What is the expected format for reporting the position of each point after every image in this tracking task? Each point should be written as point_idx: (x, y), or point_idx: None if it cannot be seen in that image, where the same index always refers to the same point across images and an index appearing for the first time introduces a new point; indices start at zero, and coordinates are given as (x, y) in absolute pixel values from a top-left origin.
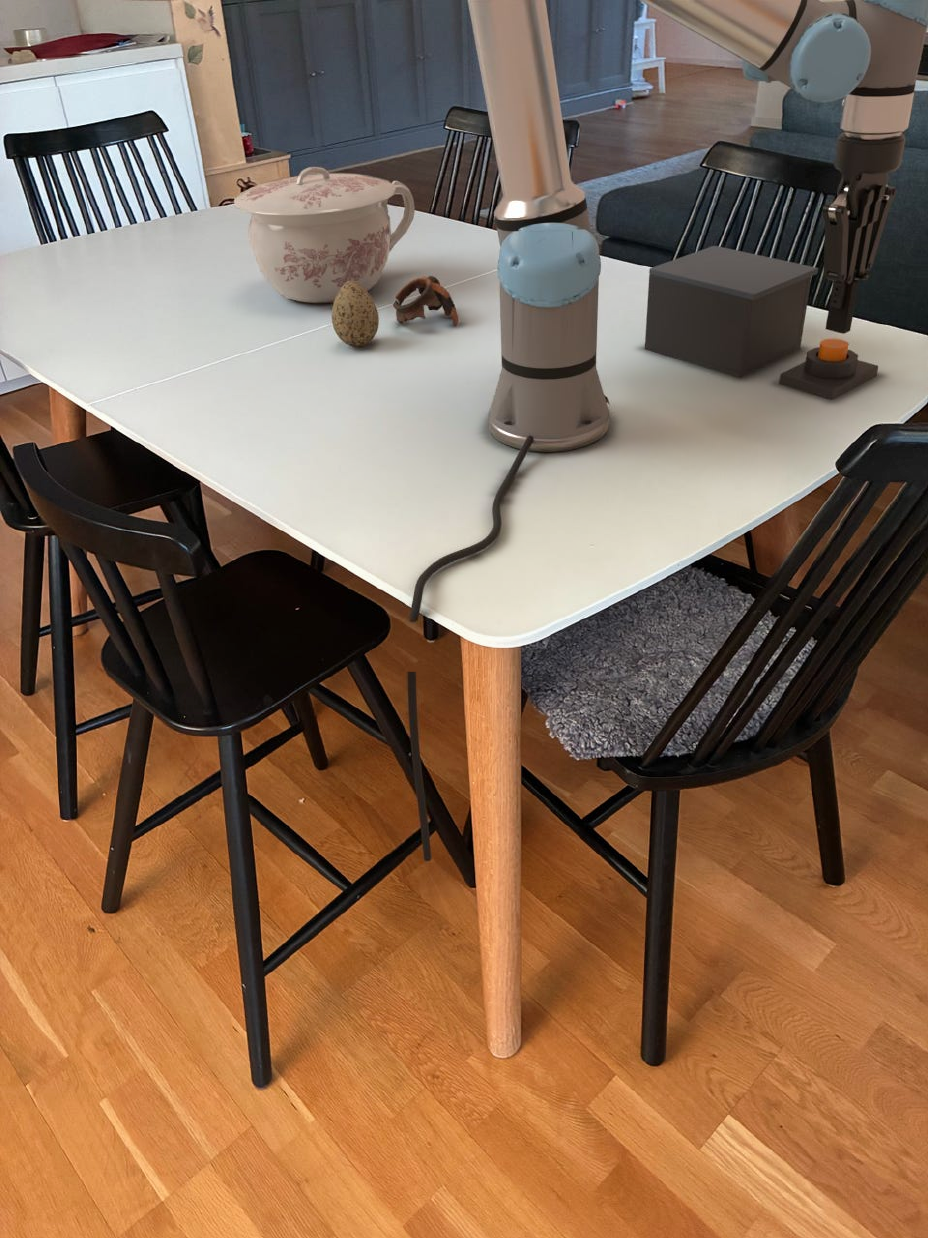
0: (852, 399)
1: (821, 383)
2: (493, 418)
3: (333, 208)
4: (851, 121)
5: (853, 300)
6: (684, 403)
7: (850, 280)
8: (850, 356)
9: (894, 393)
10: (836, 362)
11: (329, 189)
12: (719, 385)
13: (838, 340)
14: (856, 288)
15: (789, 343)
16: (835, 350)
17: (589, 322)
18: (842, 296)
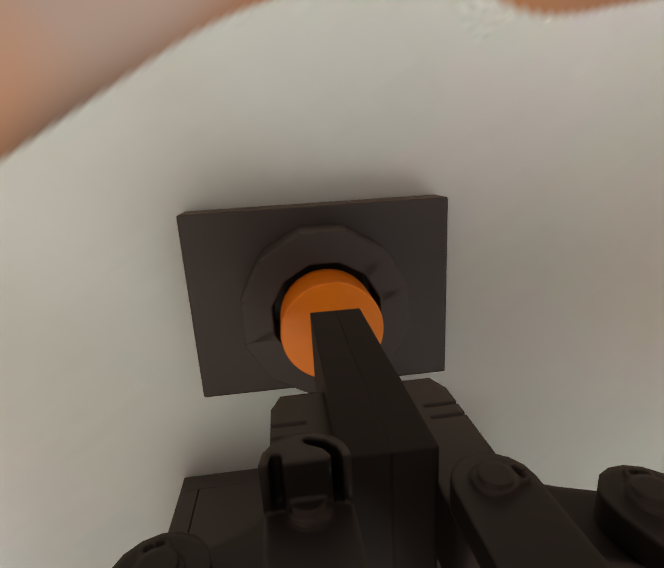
0: (387, 157)
1: (431, 250)
2: None
3: None
4: None
5: (351, 377)
6: (660, 418)
7: (504, 463)
8: (294, 267)
9: (258, 89)
10: (374, 266)
11: None
12: (529, 439)
13: (296, 340)
14: (356, 419)
15: (244, 493)
16: (370, 295)
17: None
18: (451, 417)
